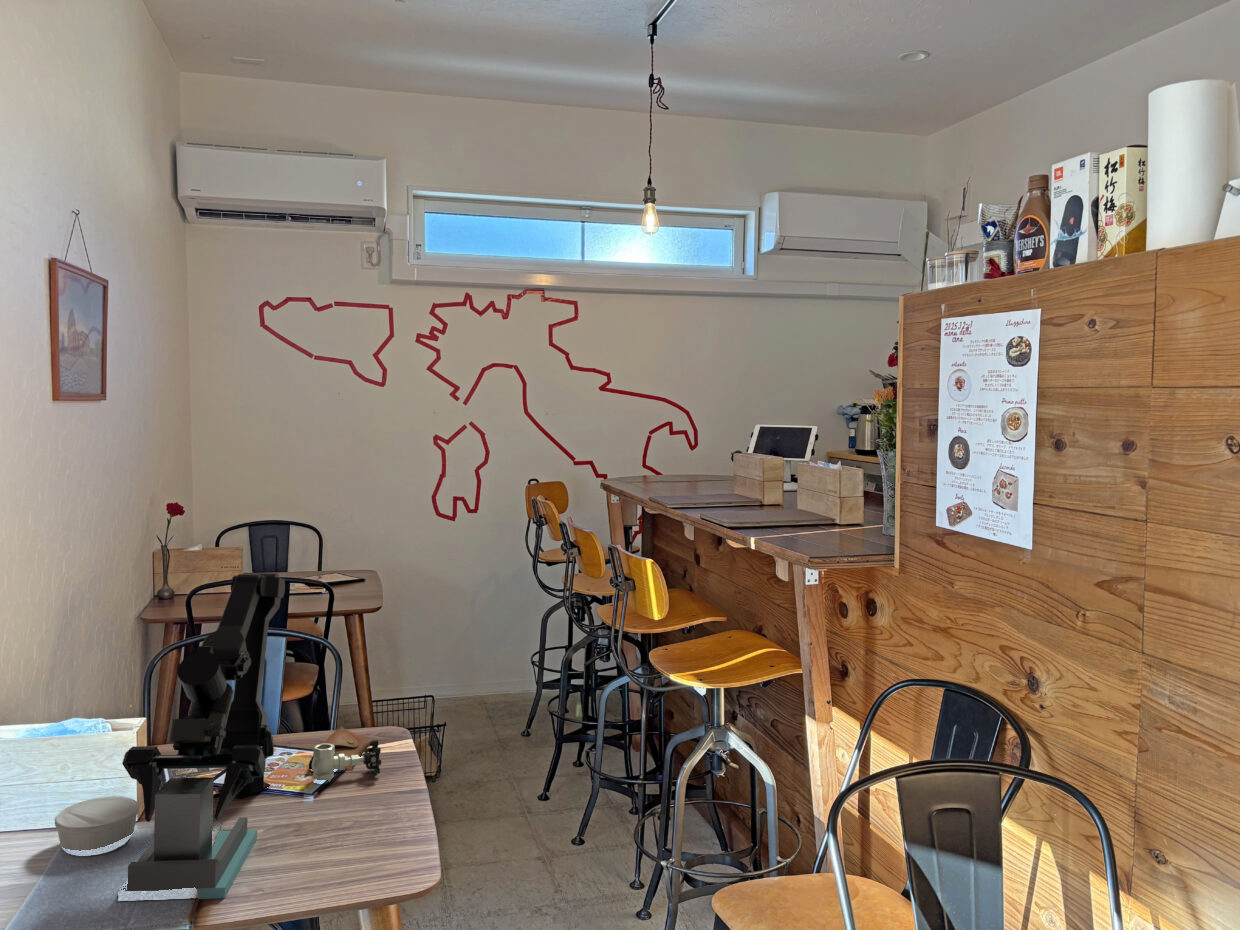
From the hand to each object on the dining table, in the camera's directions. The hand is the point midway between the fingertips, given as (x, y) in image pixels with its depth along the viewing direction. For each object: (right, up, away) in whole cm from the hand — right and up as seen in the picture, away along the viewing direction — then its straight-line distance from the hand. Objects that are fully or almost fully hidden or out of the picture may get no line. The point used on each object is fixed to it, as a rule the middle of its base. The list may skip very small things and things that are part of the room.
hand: (182, 819), depth 127 cm
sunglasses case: (+7, -9, +52) cm, 53 cm away
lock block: (-1, -8, +2) cm, 8 cm away
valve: (+10, -9, +41) cm, 43 cm away
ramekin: (-19, -9, +12) cm, 24 cm away
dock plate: (-1, -9, +5) cm, 11 cm away
